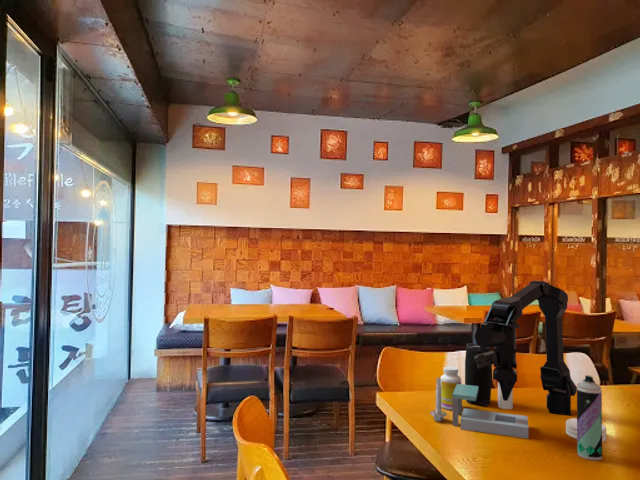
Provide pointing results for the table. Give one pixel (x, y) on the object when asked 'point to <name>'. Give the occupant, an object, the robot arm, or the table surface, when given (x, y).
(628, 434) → the table surface
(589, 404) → the spray can
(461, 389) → the l-shaped bracket
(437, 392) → the screw
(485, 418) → the socket board
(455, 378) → the supplement bottle
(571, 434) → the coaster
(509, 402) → the peg
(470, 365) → the portable speaker
